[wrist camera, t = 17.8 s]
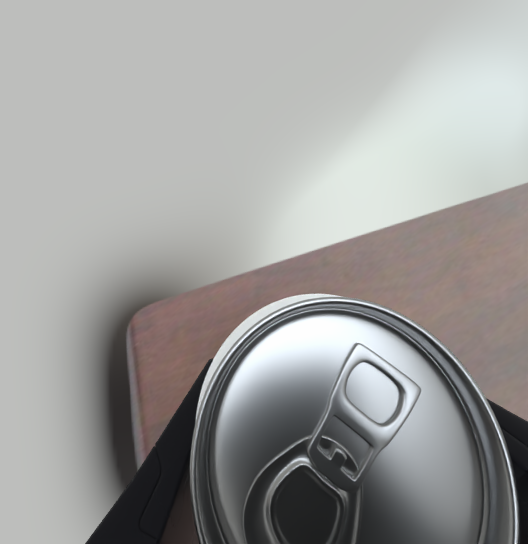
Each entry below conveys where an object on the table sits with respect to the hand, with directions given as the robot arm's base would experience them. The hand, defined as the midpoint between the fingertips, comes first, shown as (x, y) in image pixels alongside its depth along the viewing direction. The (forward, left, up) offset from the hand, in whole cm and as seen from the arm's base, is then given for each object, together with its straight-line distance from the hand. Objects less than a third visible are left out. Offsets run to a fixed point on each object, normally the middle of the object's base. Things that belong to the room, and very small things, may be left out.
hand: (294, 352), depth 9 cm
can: (-1, -1, -7) cm, 7 cm away
